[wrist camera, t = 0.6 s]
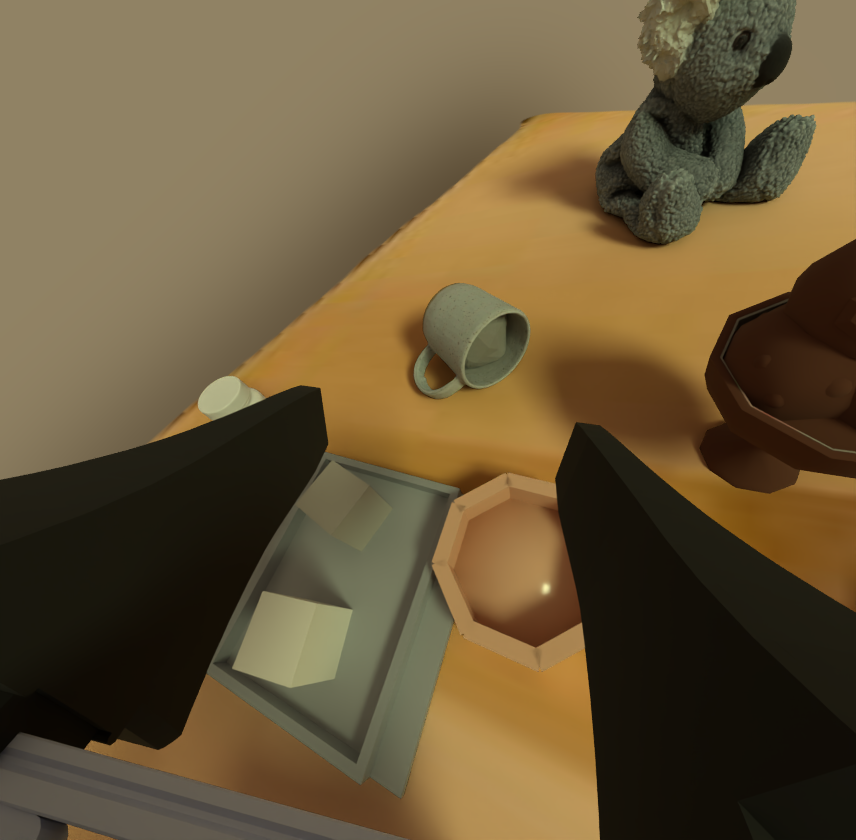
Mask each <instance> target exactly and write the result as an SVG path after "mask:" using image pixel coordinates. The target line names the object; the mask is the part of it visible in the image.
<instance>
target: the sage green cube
mask: <svg viewBox="0 0 856 840" xmlns="http://www.w3.org/2000/svg"><path fill="white" fill-rule="evenodd" d="M352 611H353V610H352V609H347V608H343V607H339V606H334V605H330V604H326V603H321V602H317V601H313V600H308V599H304V598H298V597H293V596H287V595H282V594H277V593H271V592H266V591H263V592H262V594H261V597H260V599H259V602H258V604H257V607H256V609H255V612H254V614H253V617H252V619H251V622H250V624H249V627H248V629H247V632H246V634H245V637H244V640H243V642H242V645H241V647H240V650H239V652H238V655H237V657H236V660H235V662H234V665H233V667H232V669H235V670H238V671H241V672H244V673H247V674H250V675H253V676H256V677H259V678H262V679H265V680H268V681H271V682H274V683H277V684H280V685H283V686H286V687H289V688H293V687H298V686H302V685H307V684H312V683H317V682H322V681H327V680H332V679H335V675H336V671H337V667H338V663H339V660H340V656H341V652H342V648H343V645H344V641H345V637H346V633H347V630H348V626H349V622H350V618H351V615H352Z"/></svg>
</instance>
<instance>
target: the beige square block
mask: <svg viewBox="0 0 856 840" xmlns="http://www.w3.org/2000/svg"><path fill="white" fill-rule="evenodd" d="M295 505H296V506H297V507H299V508H300V509H301V510H302V511H303V512H304V513H306V514H307V515H308V516H309V517H310V518H311V519H312V520H314V521H315V522H316V523H317V524H318V525H319V526H321V527H322V528H323V529H324V530H325V531H326V532H328V533H329V534H330V535H331V536H333V537H335V538H337V539H339V540H341V541H342V542H344V543H346V544H348V545H350V546H352V547H354V548H356V549H357V550H359V551H361V552H362V551H363V549H364V548H365V546H366V545H367V544H368V542H369V541H370V540H371V538H372V537H373V535H374V534H375V533H376V531H377V530H378V528H379V527H380V526H381V524H382V523H383V522H384V520H385V519H386V517H387V516H388V515H389V513H390V512H391V510H392V509H393V508H392V507H391V506H390V505H389V504H388V503H387V502H386V501H385V500H384V499H383V498H382V497H381V496H380V495H379V494H378V493H377V492H375V491H374V490H373V489H372V488H371V487H370V486H369V485H368V484H366V483H365V482H364V481H362V480H361V479H359V478H358V477H356V476H355V475H353V474H352V473H350V472H349V471H348V470H346V469H345V468H343V467H342V466H340V465H339V464H337V463H336V462H334V461H333V460H332V461H331V462H330V463H329V464H328V466H327V467H326V468H325V469H324V470H323V472H322V473H321V474H320V475H319V476H318V478H317V479H316V480H315V481H314V482H313V484H312V485H311V486H310V487H309V488H308V489H307V491H306V492H305V493H304V494H303V495H302V497H301V498H300V499H299V500H298V501H297V503H296V504H295Z"/></svg>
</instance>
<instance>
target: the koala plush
mask: <svg viewBox="0 0 856 840" xmlns="http://www.w3.org/2000/svg"><path fill="white" fill-rule="evenodd" d="M795 6H796V0H650V1H649V2H647V5H646V6H645V9H644V10H643V11H642V12H640V14H639V16H638V17H637V18H639V19H640V22H644V26H643V28H642V31H641V35H640V37H639V42H638V44H637V46H638V48H640V51H641V54H642V57H641V60H643V61H642V63H644V64H647V65H649V68H650V69H653V70H654V71H653V73H654V79H653V81H654V88H653V89H652V90H651V92H650V93H649V95H648V97H647V98H646V100H645V101H644V102H643V103H642V104H641V105H640V107H639V108H638V110H637V111H636V112H635V114H634V116H633V118H632V120H631V121H630V123H629V125H628V126H627V128H626V130H625V132H624V133H623V134H622V135H621V136H620V137H619V138H618V139H617V140H616V141H615V142H614V143H612V145H610V146H609V148H607V149H606V150H605V151H604V152H603V154H602V156H601V157H600V161H599V162H598V165H597V168H596V187H597V195H598V196H599V201H600V205H601V207H603V208H605V210H604V212H607V213H611V214H615V215H617V216H619V217H623V219H624V222H625V224H627V226H628V228H629V229H630V231H632V232H633V233H634V235H635V236H637V237H639V238H641V239H643V240H646V241H648V242H653V243H661V244H667V243H670V242H671V241H677V240H679V239H680V238H682V237H684V236H686V235H689V234H690V233H692V232H693V231H694V230H695V227H696V226H697V224H698V222H699V221H700V215H701V212H702V209H703V207H702V206H701V204H702V202H703V201H710V200H711V201H714V200H716V201H723V202H751V203H753V202H760V201H763V200H765V199H766V200H767V201H769V200H771V199H775V198H777V197H778V198H779V197H780V194H783V192H784V190H786V189H787V186H788V185H790V184H791V181H792V180H793V179H794V178H795V176H796V174H797V173H798V171H799V169H800V166H802V162H803V160H804V158H805V157H806V155H805V154H807V153H808V149H809V147H810V145H811V140H812V139H813V137H812V136H813V134H814V130H815V129H816V128H815V127H816V121H814V118H815V116H814V115H811V116H810V117H808V116H806V117H802V116H801V115H796V116H794V115H790V116H789V117H788V118H786V117H783V118H782V119H781V120H780V121H779V120H777V121H776V122H775V123H774V124H771V125H770V126H769V127H767V128H766V129H765V130H764V131H763V132H762V133H760V134H759V135H757V136H756V137H755V138H754V139H753V140H752V141H751V142H750V143H749V145H748V146H747V147H746V148H745V149H744V145H745V132H746V130H745V128H746V127H745V122H744V116H743V113H742V109H741V106H743V105H744V104H745V103H746V102H747V101H748V100H749V99H750V98H751V97H753V96H754V95H755V94H756V93H757V92H758V91H759V90H760V89H762V88H763V87H764V86H765V85H767V84H770V83H771V82H773V81H774V80H775V79H776V78H777V77H778V76H779V75H780V74H781V73H782V71H783V70H784V68H785V67H786V65H787V63H788V60H789V58H790V55H791V51H792V41H791V35H790V34H791V32H792V31H791V29H792V23H793V21H794V17H795ZM641 19H642V20H641Z"/></svg>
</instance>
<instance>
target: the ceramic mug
mask: <svg viewBox="0 0 856 840" xmlns="http://www.w3.org/2000/svg"><path fill="white" fill-rule="evenodd" d="M423 332H424V335H425V337H426V339H427V341H428V345H427V346H426V347H425V349H424V350H423V351H422V353H421V354H420V355H419V357H418V359H417V361H416V363H415V367H414V380H415V383H416V385H417V387H418V388H419V390H420V391H421V392H423V393H424V394H426V395H428V396H429V397H432V398H434V399H443V398H447V397H449V396H451V395H453V394H454V393H455V392H457V391H458V390H460V389H461V388H462V387H463V386H464V385H468V386H469V387H471V388H476V389H482V388H487V387H490V386H492V385H494V384H496V383H498V382H500V381H501V380H502V379H504V378H505V377H506V376H507V375H509V374H510V373H511V372H512V371H513V370H514V369H515V367H516V366H517V364H518V363H519V362H520V360H521V359H522V357H523V355H524V353H525V351H526V349H527V346H528V343H529V338H530V324H529V320H528V318H527V316H526V315H525V314H524V313H523V312H522V311H521V310H519V309H517V308H515V307H513V306H511V305H510V304H508V303H506V302H504V301H502V300H500V299H499V298H497V297H495V296H493V295H491V294H489V293H487V292H486V291H484V290H482V289H480V288H478V287H476V286H473V285H469V284H464V283H455V284H452V285H449V286H446V287H444V288H443V289H441V290H440V291H439V292H438V293H437V294H436V295H435V296H434V297H433V298H432V299H431V301H430V302H429V304H428V306H427V308H426V310H425V313H424V317H423ZM436 353H437V354H438V355H439V357H440V358H441V359H442V360H444V361H445V363H446V364H447V365H448V366H449V367H450V368H451V369H452V371H453V372H454V373H455V374H456V377H455V378H454V380H452V381H451V382H449V383H448V384H446V385H445V386H443V387H441V388H440V389H436V390H431V388H430V387H429V386H428V384H427V381H426V378H425V377H424V373H425V369H426V367H427V365H428V363H429V361H430V360H431V359H432V357H433V356H434V355H435V354H436Z"/></svg>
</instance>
